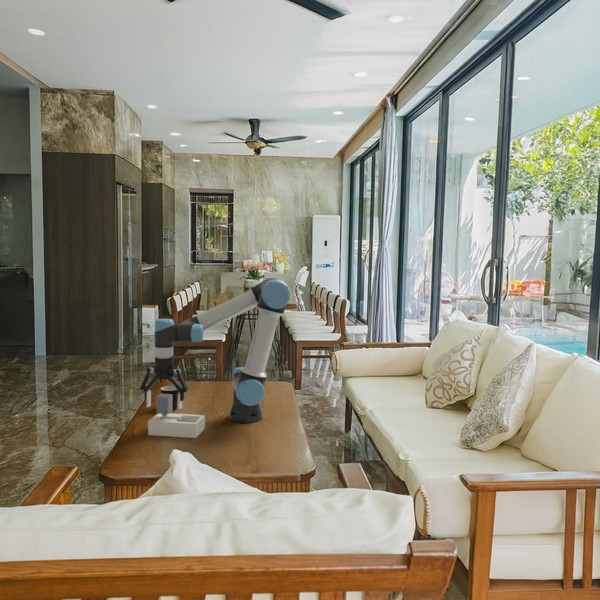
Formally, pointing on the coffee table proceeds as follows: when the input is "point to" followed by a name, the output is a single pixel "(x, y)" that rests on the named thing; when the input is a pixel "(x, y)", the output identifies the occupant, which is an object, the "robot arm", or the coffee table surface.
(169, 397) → the t peg
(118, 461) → the coffee table surface
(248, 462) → the coffee table surface
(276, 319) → the robot arm
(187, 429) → the white stepped recess tray
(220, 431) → the coffee table surface
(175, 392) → the coffee mug
